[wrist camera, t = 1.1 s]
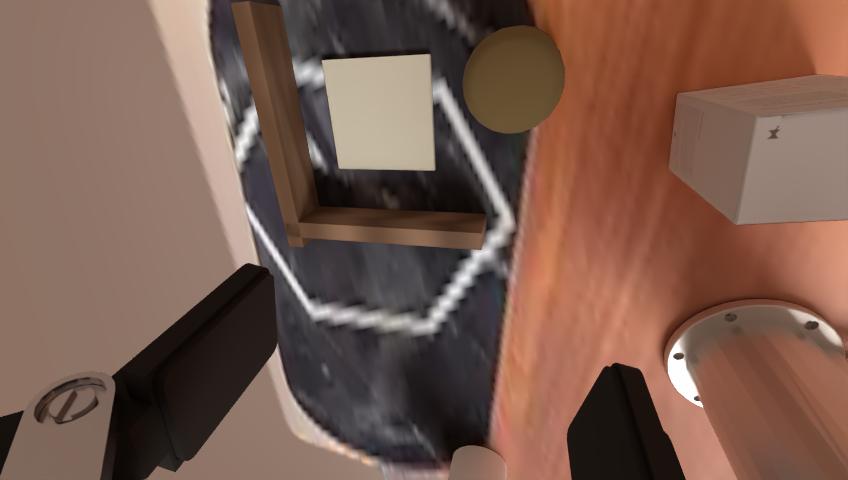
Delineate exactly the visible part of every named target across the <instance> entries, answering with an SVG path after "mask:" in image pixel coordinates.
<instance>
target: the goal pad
mask: <svg viewBox="0 0 848 480" xmlns="http://www.w3.org/2000/svg"><path fill="white" fill-rule="evenodd" d="M322 64H323V71H324V77H325V83H326V90H327V96H328V102H329V108H330V115H331V121H332V127H333V134H334V140H335V146H336V153H337V159H338V165H339V169H382V170H434V171H435V144H434V119H433V94H432V70H431V54H423V55H405V56H388V57H370V58H353V59H335V60H322Z"/></svg>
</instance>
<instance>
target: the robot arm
mask: <svg viewBox="0 0 848 480" xmlns="http://www.w3.org/2000/svg"><path fill="white" fill-rule="evenodd" d="M276 346H277V323H276V305H275V288H274V277H273V275H271V274H270V272H269V270H268V269H267V268H265V267H261V266H257V265H254V264H250V263H247V264H245V265H243V266H242V267H241V268H239V269H238V270H237V271H236V272H235V273H234V274H232V275H231V276H230V277H229V278H228V279H226V280H225V281H224V282H223V283H222V284H221V285H219V286H218V287H217V288H216V289H215V290H213V291H212V292H211V293H210V294H209V295H208V296H206V297H205V298H204V299H203V300H202V301H200V302H199V303H198V304H197V305H196V306H194V307H193V308H192V309H191V310H190V311H188V312H187V313H186V314H185V315H184V316H183V317H181V318H180V319H179V320H178V321H177V322H175V323H174V324H173V325H172V326H171V327H170V328H168V329H167V330H166V331H165V332H164V333H162V335H160V336H159V337H158V338H157V339H155V340H154V341H153V342H152V343H151V344H149V345H148V346H147V347H146V348H145V349H144V350H142V351H141V352H140V353H139V354H138V355H136V356H135V357H134V358H133V359H132V360H131V361H129V362H128V363H127V364H126V365H125V366H123V367H122V368H121V369H120V370H119V371H117V372H116V373H115V374H114V375H113V376H112V377H111V376H109V375H107V374H105V373H102V372H93V371H90V372H83V373H77V374H74V375H71V376H67V377H65V378H62V379H60V380H58V381H56V382H54V383H52V384H50V385H49V386H47V387H46V388H44V389H43V390H41V391H40V392H39V393H38V394H37V395H36V396H35V397H34V398H33V399H32V400H31V401H30V402H29V404H28V405H27V407H26V409H25V410H24V411H20V412H17V413H13V414H10V415H6V416H3V417H0V480H147V478H148V477H149V475H150V474H151V473H152V472H153V470H154V469H155V468H156V467H157V466H159V467H162V468H165V469H168V470H171V471H174V472H176V471H177V470H178V468H179V467H180V466H181V465H182V463H183V462H184V461H189V460H191V459H192V458H193V457H194V456H195V455H196V454H197V452H198V451H199V450H200V448H201V447H202V446H203V444H204V443H205V442H206V441H207V439H208V438H209V437H210V435H211V434H212V433H213V431H214V430H215V429H216V428H217V426H218V425H219V424H220V422H221V421H222V420H223V418H224V417H225V416H226V414H227V413H228V412H229V410H230V409H231V407H233V405H234V404H235V402H236V401H237V400H238V399H239V397H240V396H241V395H242V393H243V392H244V391H245V389H246V388H247V387H248V386H249V384H250V383H251V381H252V380H253V379H254V378H255V376H256V375H257V374H258V372H259V371H260V370H261V368H262V367H263V366H264V364H265V363H266V362H267V361H268V359H269V358H270V357H271V355H272V354H273V353H274V351H275V349H276ZM664 365H665V370H666V372H667V374H668V377H669V379H670V381H671V383H672V384H673V386H674V387H675V389H676V390H677V391H678V392H679V393H680V394H681V395H682V396H683V397H685V398H686V399H688V400H689V401H691V402H692V403H694V404H696V405H699V406H701V407H703V408H704V410H705V412H706V414H707V416H708V418H709V421H710V423H711V425H712V427H713V429H714V431H715V433H716V435H717V437H718V439H719V442H720V444H721V446H722V448H723V450H724V452H725V454H726V456H727V458H728V460H729V462H730V465H731V467H732V469H733V471H734V473H735V475H736V477H737V479H738V480H848V361H847V360H846V359H845V348H844V345H843V342H842V339H841V337H840V336H839V335H838V333H837V332H836V330H835V329H834V328H833V327H832V326H831V325H830V324H829V323H828V322H826V321H825V320H824V319H823V318H822V317H820V316H819V315H817V314H816V313H814V312H813V311H811V310H809V309H807V308H804V307H802V306H800V305H797V304H793V303H789V302H785V301H780V300H770V299H747V300H739V301H734V302H728V303H724V304H721V305H718V306H714V307H711V308H709V309H707V310H705V311H702V312H700V313H698V314H696V315H695V316H693V317H692V318H690V319H689V320H687V321H686V322H684V323H683V324H682V325H681V326H680V327H679V328H678V329H677V330H676V331H675V332H674V333H673V335H672V336H671V338H670V339H669V341H668V343H667V346H666V348H665V352H664ZM567 445H568V453H569V461H570V469H571V477H572V480H686V479H685V476H684V474H683V471H682V468H681V466H680V463H679V460H678V458H677V455H676V452H675V450H674V447H673V444H672V442H671V440H670V438H669V436H668V435H667V434H666V433H665V432H664V431H663V428H662V426H661V423H660V420H659V418H658V415H657V412H656V409H655V407H654V404H653V401H652V398H651V396H650V393H649V390H648V388H647V385H646V382H645V379H644V377H643V374H642V372H641V371H640V370H639V369H637V368H634V367H630V366H626V365H623V364H619V363H614V364H612V366H611V367H608V366H606V367H604V368H603V370H602V372H601V373H600V375H599V377H598V378H597V380H596V382H595V383H594V385H593V387H592V389H591V390H590V392H589V394H588V395H587V397H586V399H585V400H584V402H583V404H582V406H581V407H580V409H579V411H578V412H577V414H576V416H575V417H574V419H573V421H572V422H571V424H570V426H569V428H568V432H567Z"/></svg>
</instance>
